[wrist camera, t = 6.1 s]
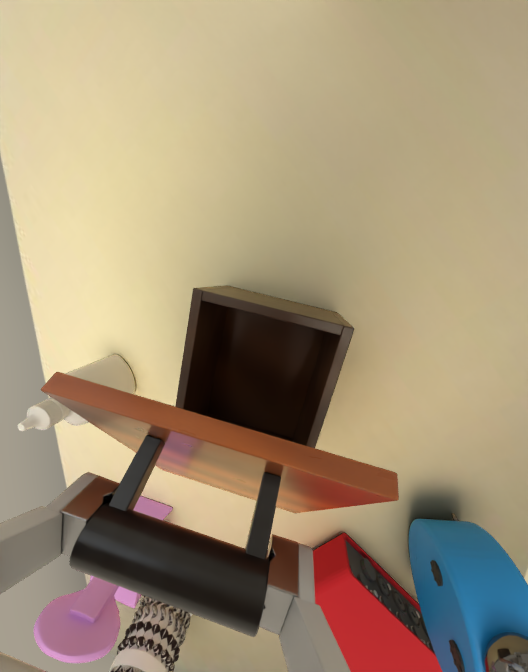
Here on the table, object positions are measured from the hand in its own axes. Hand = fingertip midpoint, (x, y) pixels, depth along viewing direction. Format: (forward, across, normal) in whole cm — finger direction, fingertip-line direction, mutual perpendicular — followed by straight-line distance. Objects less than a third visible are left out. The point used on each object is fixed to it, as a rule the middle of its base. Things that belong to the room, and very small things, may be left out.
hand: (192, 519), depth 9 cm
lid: (+6, 0, +2) cm, 6 cm away
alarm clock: (+20, -25, +16) cm, 37 cm away
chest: (+20, 0, +1) cm, 20 cm away
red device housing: (+21, -19, +31) cm, 42 cm away
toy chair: (+21, +11, +30) cm, 38 cm away
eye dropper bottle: (+20, +18, +7) cm, 28 cm away
